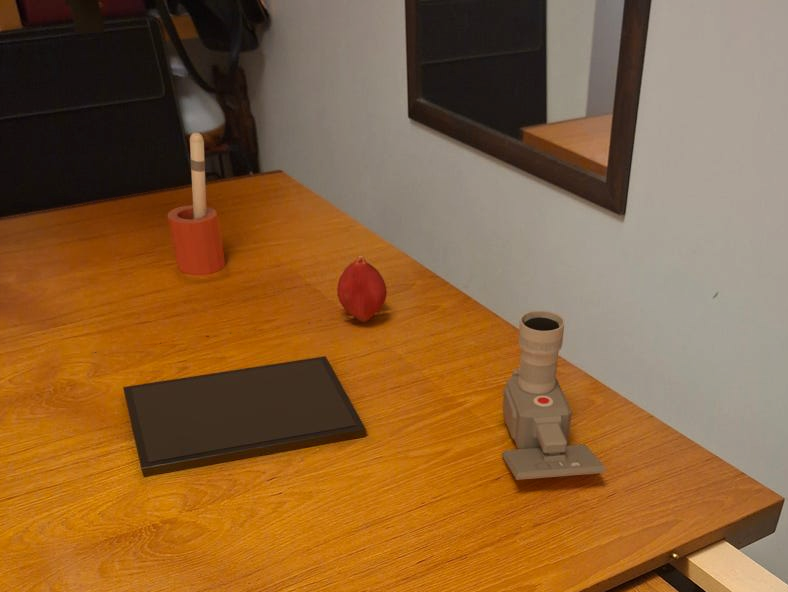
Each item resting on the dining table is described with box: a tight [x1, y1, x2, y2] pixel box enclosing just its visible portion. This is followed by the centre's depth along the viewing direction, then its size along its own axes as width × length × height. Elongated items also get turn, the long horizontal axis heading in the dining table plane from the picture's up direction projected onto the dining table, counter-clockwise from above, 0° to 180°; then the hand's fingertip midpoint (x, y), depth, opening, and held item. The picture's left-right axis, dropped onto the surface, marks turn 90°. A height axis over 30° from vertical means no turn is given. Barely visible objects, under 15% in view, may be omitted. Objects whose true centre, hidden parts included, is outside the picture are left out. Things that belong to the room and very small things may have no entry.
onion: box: [336, 255, 388, 323], centre depth 107 cm, size 6×6×8 cm
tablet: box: [122, 355, 367, 478], centre depth 93 cm, size 16×22×1 cm
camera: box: [501, 310, 607, 481], centre depth 87 cm, size 9×12×15 cm
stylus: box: [189, 132, 207, 219], centre depth 113 cm, size 2×2×16 cm
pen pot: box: [167, 204, 226, 276], centre depth 116 cm, size 6×6×7 cm
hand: (84, 17), depth 95 cm, fingers open, 13 cm apart
